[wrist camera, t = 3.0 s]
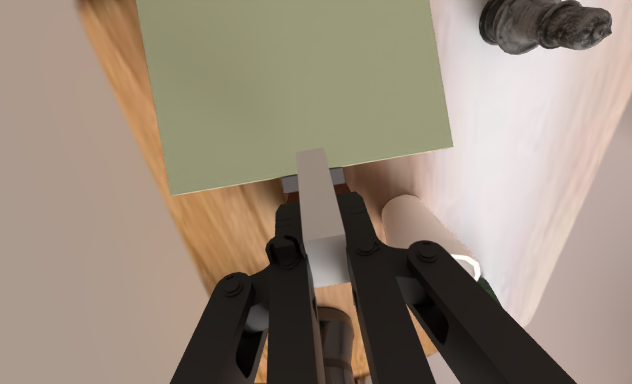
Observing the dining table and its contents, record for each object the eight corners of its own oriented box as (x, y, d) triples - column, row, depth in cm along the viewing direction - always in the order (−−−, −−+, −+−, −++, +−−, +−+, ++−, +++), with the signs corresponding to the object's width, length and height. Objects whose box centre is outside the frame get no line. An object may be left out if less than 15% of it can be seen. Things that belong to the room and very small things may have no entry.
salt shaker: (484, -16, 29) (589, -14, 19) (543, -22, 29) (677, -23, 19) (470, 51, 32) (553, 81, 22) (523, 45, 32) (628, 72, 22)
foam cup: (362, 201, 43) (389, 273, 32) (424, 175, 41) (474, 242, 30) (382, 242, 48) (411, 315, 37) (437, 220, 46) (484, 291, 36)
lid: (146, -5, 20) (131, -22, 19) (409, -51, 20) (417, -72, 19) (184, 210, 21) (173, 212, 19) (445, 165, 21) (455, 163, 19)
